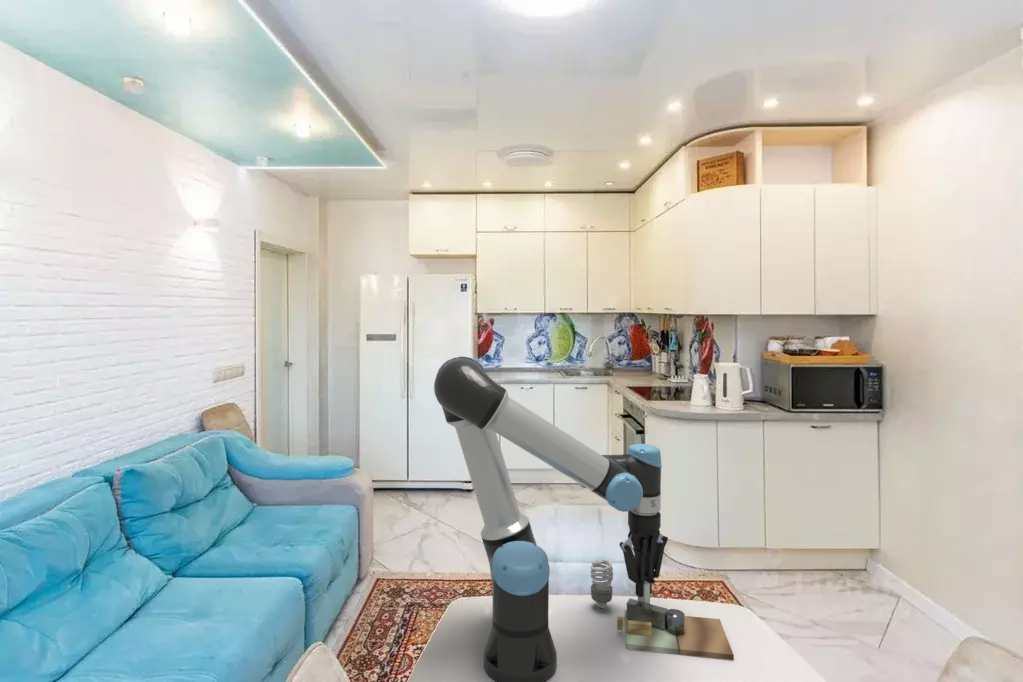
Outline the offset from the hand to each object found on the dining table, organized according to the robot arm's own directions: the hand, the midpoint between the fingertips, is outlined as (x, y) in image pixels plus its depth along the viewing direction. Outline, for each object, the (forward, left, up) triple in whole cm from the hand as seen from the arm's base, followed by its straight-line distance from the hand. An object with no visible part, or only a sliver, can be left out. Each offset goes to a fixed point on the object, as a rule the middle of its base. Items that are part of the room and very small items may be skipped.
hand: (643, 608), depth 128 cm
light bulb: (-10, +4, -3) cm, 11 cm away
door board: (+7, -5, -3) cm, 9 cm away
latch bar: (+2, -4, -2) cm, 5 cm away
